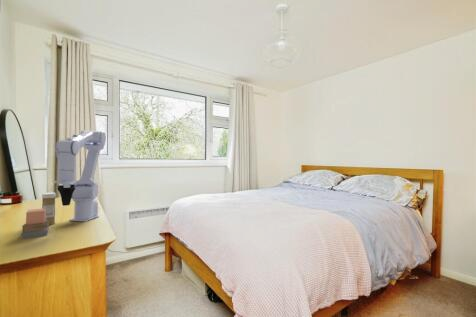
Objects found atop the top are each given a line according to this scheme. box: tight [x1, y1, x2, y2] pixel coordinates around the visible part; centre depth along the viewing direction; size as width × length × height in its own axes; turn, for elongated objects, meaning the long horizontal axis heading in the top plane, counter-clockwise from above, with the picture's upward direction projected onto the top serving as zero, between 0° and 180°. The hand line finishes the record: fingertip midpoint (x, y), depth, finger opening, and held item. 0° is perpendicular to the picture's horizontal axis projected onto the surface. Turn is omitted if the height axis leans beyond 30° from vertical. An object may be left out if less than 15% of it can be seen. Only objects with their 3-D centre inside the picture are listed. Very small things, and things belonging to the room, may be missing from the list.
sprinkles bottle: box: [41, 192, 57, 226], centre depth 98 cm, size 5×5×14 cm
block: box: [25, 208, 46, 225], centre depth 86 cm, size 5×5×4 cm
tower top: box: [21, 220, 48, 234], centre depth 85 cm, size 6×6×2 cm
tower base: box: [21, 225, 50, 240], centre depth 85 cm, size 7×7×2 cm
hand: (65, 203), depth 91 cm, fingers open, 7 cm apart
